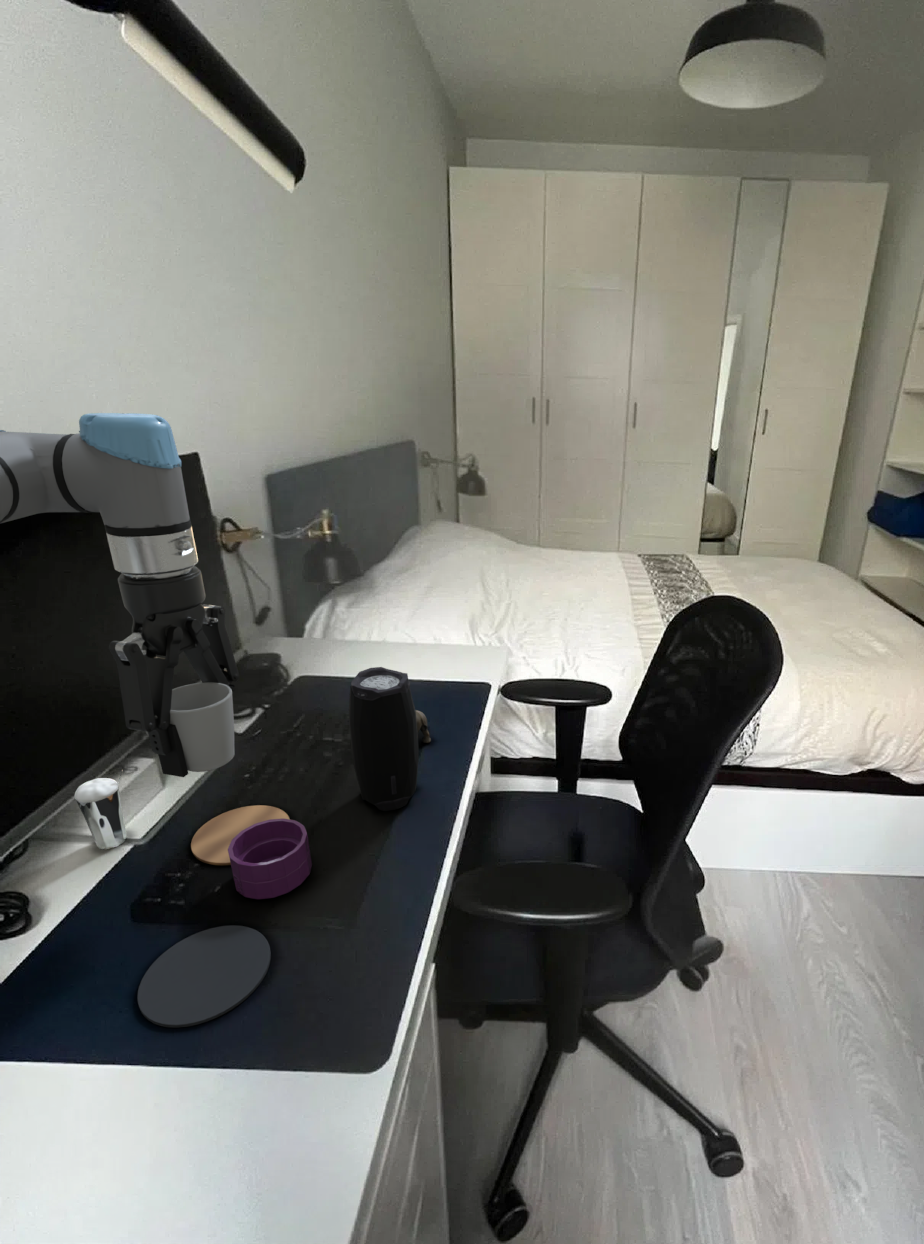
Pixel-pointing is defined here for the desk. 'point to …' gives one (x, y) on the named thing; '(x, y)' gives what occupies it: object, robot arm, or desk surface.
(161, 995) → the slate coaster
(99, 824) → the milkshake
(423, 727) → the rhino figurine
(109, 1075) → the desk surface
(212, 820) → the wooden coaster
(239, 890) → the plum bowl
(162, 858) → the desk surface
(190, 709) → the cup
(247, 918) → the desk surface
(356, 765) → the portable speaker
